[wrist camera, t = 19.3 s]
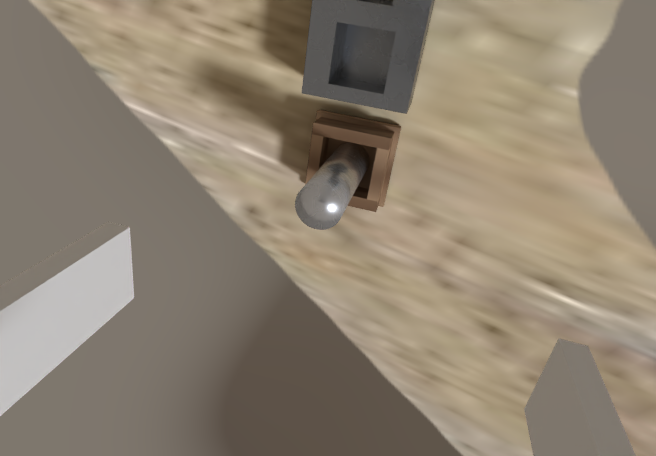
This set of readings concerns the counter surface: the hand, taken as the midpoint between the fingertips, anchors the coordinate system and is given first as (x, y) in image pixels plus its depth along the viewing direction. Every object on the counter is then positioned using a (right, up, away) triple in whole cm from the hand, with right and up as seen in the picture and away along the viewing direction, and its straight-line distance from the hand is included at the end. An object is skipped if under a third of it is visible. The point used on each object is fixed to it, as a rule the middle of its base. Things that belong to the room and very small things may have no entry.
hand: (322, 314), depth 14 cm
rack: (+3, +10, +36) cm, 38 cm away
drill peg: (+3, +10, +35) cm, 37 cm away
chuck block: (+5, +22, +30) cm, 38 cm away
